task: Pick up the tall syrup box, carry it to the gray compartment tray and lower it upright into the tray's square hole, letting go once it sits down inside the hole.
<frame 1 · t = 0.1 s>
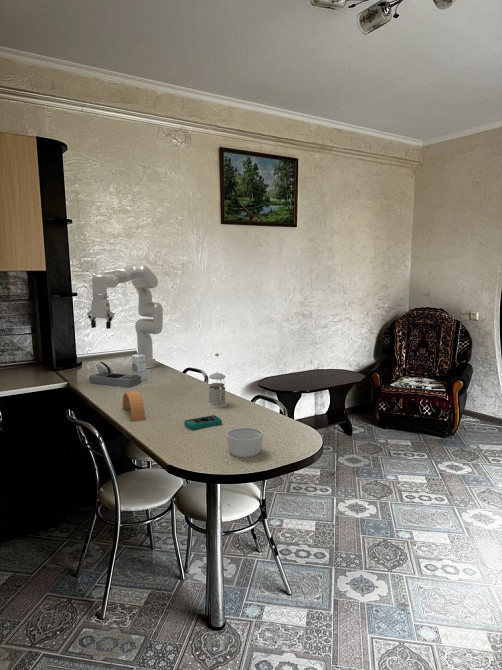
hand: (101, 328, 261), 31 cm above the table, tool pointing down, fingers open, 9 cm apart
french press: (217, 404, 226), on the table
gray compartment tray: (115, 382, 265), on the table
arch: (133, 414, 210), on the table
digital multimeter: (203, 426, 196), on the table
syrup box: (139, 379, 273), on the table
ramekin: (244, 452, 168), on the table
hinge: (106, 376, 281), on the table
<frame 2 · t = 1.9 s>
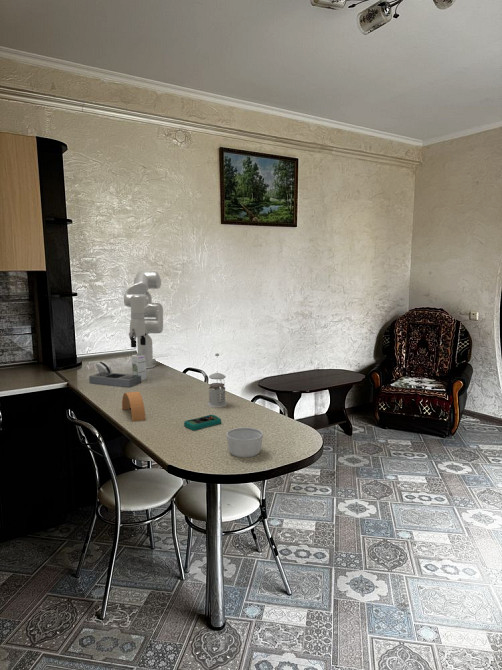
hand: (138, 346, 270), 20 cm above the table, tool pointing down, fingers open, 9 cm apart
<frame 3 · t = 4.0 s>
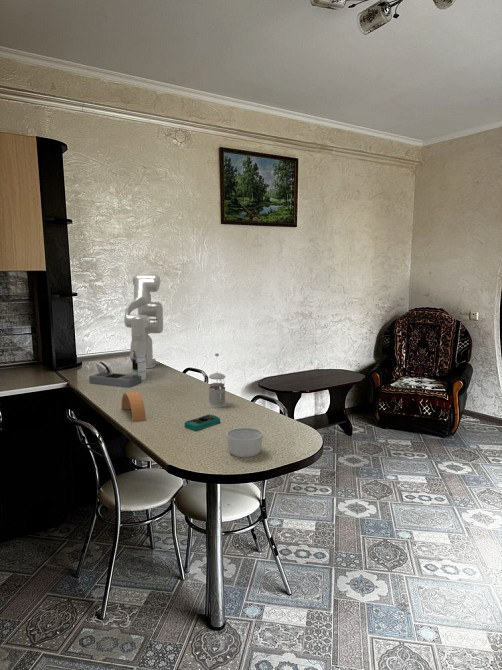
hand: (139, 367, 272), 7 cm above the table, tool pointing down, fingers closed on syrup box, 7 cm apart
syrup box: (139, 379, 273), on the table, touching gripper
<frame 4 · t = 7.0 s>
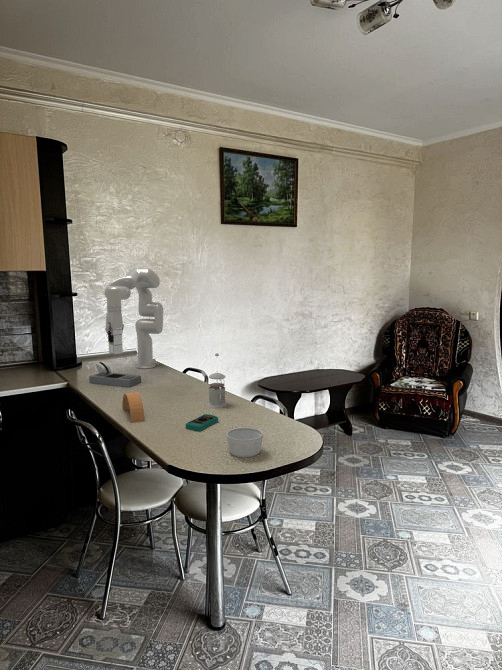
hand: (115, 340, 262), 24 cm above the table, tool pointing down, fingers closed on syrup box, 7 cm apart
syrup box: (115, 353, 263), point 17 cm above the table, touching gripper
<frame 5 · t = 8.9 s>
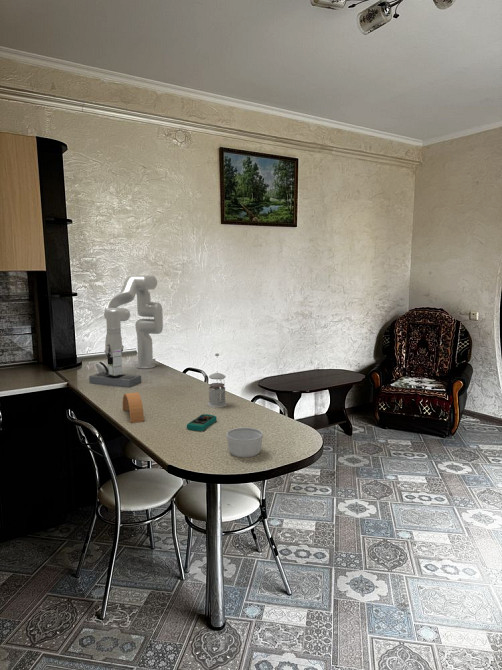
hand: (114, 362, 263), 12 cm above the table, tool pointing down, fingers closed on syrup box, 7 cm apart
syrup box: (115, 374, 264), point 5 cm above the table, touching gripper
when the fingers open (8 cm above the table, at t = 10.2 s): syrup box drops 1 cm, resting in gray compartment tray.
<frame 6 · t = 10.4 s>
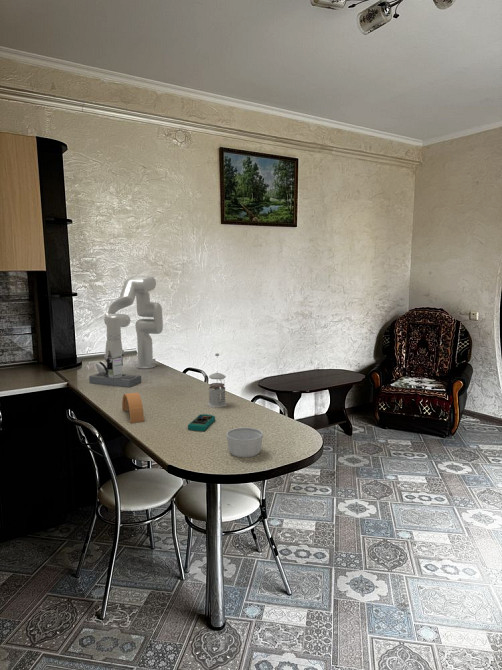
hand: (115, 367, 263), 9 cm above the table, tool pointing down, fingers open, 9 cm apart
syrup box: (115, 383, 265), resting in gray compartment tray
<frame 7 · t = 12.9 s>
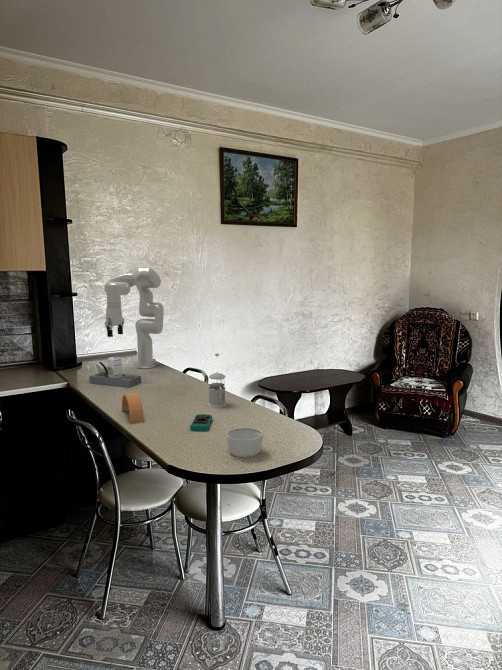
hand: (115, 335, 264), 27 cm above the table, tool pointing down, fingers open, 9 cm apart
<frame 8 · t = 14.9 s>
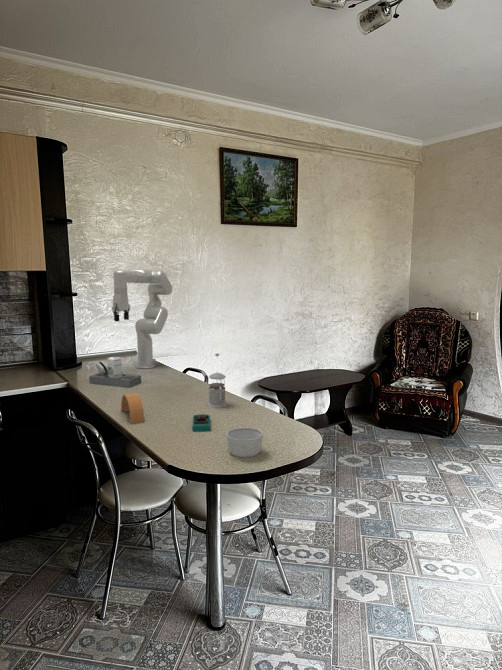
hand: (121, 320, 279), 33 cm above the table, tool pointing down, fingers open, 9 cm apart
at the end: syrup box 0.0 cm off-centre on the gray compartment tray, point 0.0 cm above the gray compartment tray's base; syrup box tilted 0°; the gripper is holding nothing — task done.
